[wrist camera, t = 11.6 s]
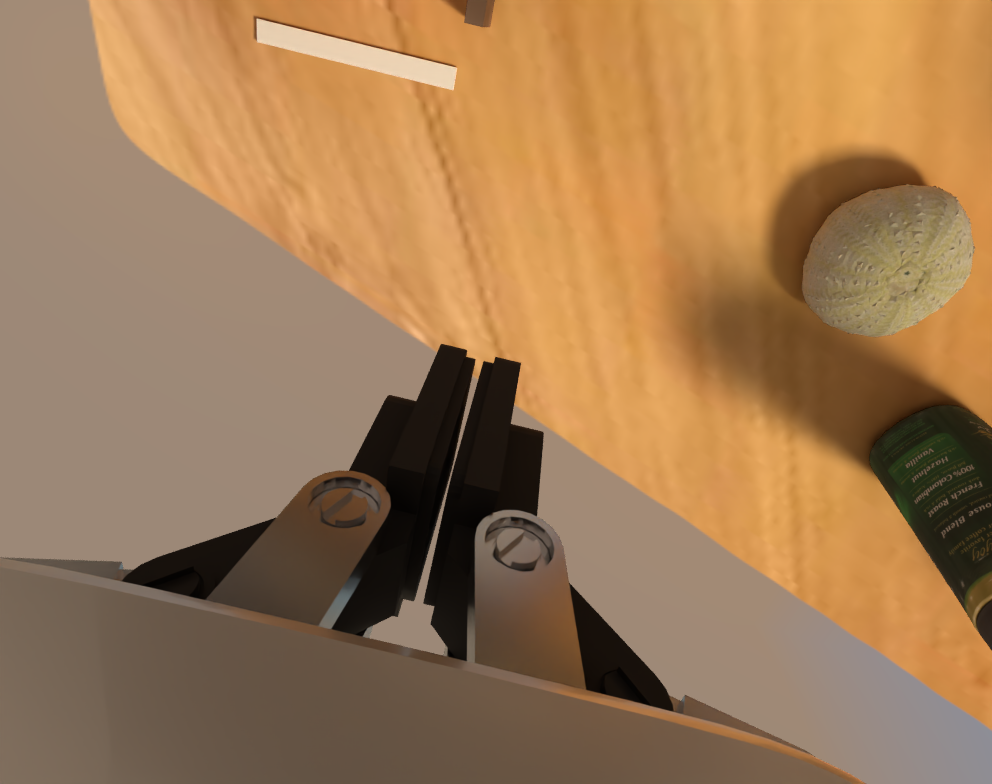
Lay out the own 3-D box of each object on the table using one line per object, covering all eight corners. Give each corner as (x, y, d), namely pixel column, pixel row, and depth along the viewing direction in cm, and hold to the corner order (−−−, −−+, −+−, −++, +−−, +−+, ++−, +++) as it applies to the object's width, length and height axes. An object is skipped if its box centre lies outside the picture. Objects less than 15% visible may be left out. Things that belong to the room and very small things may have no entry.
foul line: (258, 18, 35) (256, 18, 35) (457, 67, 35) (456, 67, 35) (258, 41, 36) (256, 41, 35) (453, 89, 36) (453, 90, 35)
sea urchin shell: (764, 312, 39) (858, 264, 31) (791, 209, 41) (886, 141, 33) (885, 364, 40) (1005, 330, 32) (906, 261, 41) (1025, 206, 34)
